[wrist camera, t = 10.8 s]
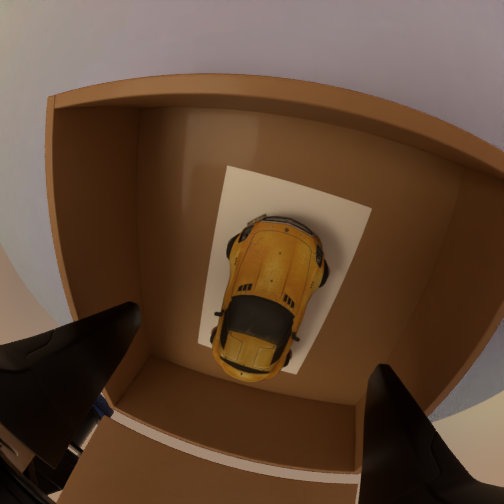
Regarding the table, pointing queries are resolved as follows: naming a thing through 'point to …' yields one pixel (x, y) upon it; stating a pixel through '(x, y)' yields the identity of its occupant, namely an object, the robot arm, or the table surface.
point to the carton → (202, 234)
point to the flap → (178, 477)
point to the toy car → (274, 271)
